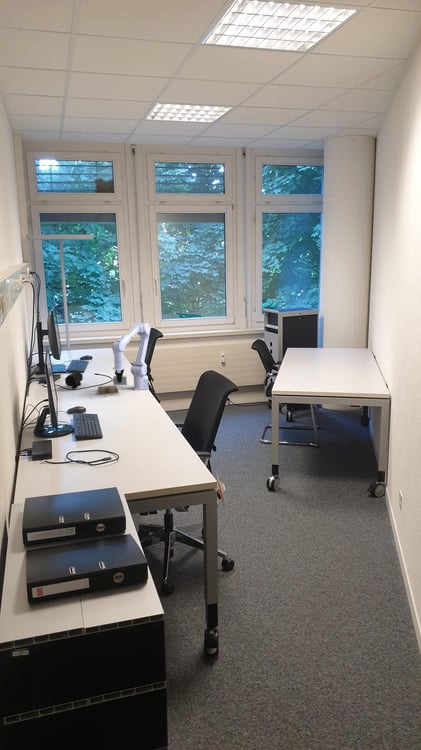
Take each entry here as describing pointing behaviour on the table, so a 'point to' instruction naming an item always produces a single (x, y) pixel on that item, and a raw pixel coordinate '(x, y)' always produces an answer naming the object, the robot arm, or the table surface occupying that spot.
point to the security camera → (74, 379)
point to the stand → (107, 389)
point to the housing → (124, 382)
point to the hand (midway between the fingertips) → (119, 381)
